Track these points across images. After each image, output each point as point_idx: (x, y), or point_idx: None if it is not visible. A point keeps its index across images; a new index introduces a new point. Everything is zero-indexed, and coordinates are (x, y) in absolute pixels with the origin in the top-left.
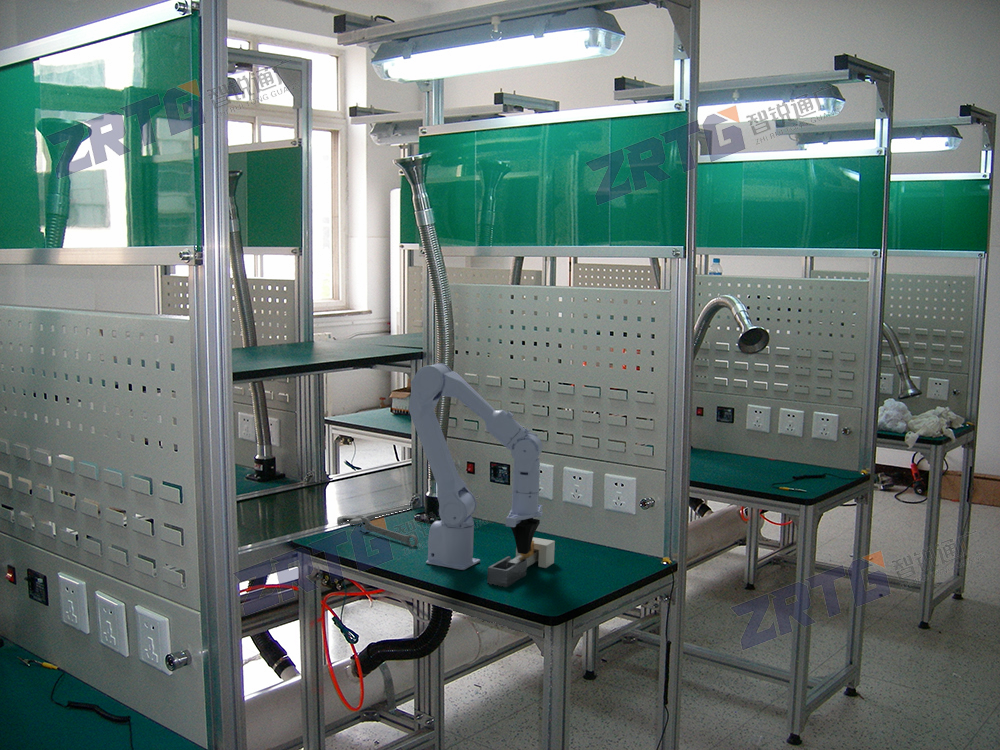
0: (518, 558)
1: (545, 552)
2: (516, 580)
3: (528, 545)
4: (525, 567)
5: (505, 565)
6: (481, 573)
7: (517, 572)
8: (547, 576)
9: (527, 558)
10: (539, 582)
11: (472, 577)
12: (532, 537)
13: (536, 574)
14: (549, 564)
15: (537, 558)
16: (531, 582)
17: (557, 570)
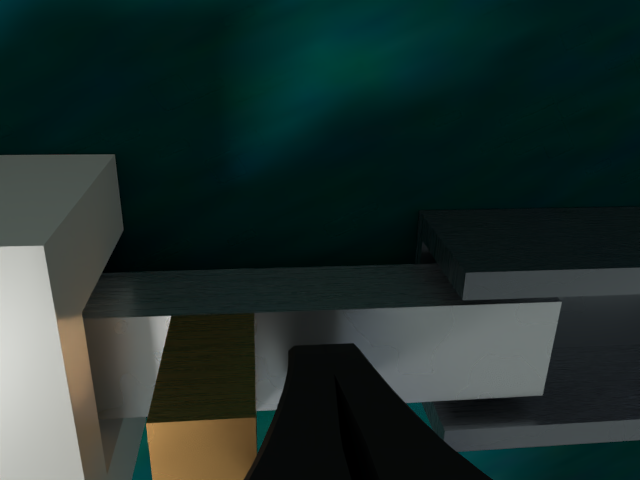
0: (391, 370)
1: (76, 219)
2: (613, 208)
3: (373, 389)
4: (468, 239)
5: None
6: (523, 470)
7: (637, 234)
8: (354, 29)
9: (331, 308)
10: (563, 22)
11: (627, 470)
12: (283, 452)
13: (350, 146)
14: (14, 158)
15: None
16: (589, 87)
17: (106, 17)
